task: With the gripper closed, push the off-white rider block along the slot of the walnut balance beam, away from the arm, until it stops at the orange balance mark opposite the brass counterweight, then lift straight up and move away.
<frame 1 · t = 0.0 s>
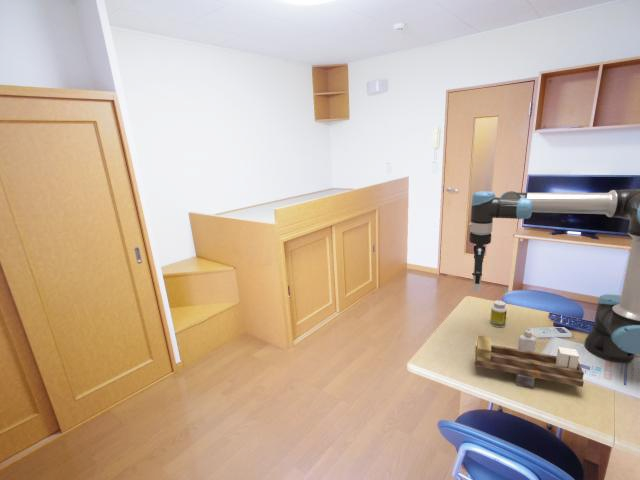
hand: (476, 283, 133), 28 cm above the table, fingers open, 13 cm apart
white rectangular bottle: (525, 355, 133), on the table
pill bottle: (497, 324, 155), on the table
beam: (522, 376, 121), on the table
rider: (567, 360, 113), point 10 cm above the table, slide at 0.0 cm
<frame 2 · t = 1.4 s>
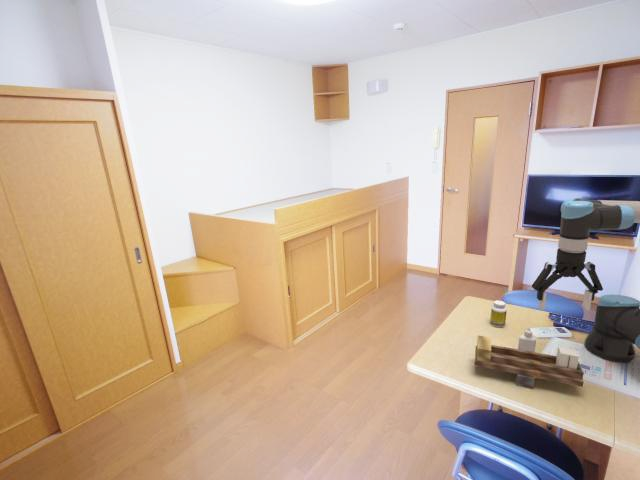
hand: (563, 308, 113), 27 cm above the table, fingers open, 13 cm apart
nothing on the table moved.
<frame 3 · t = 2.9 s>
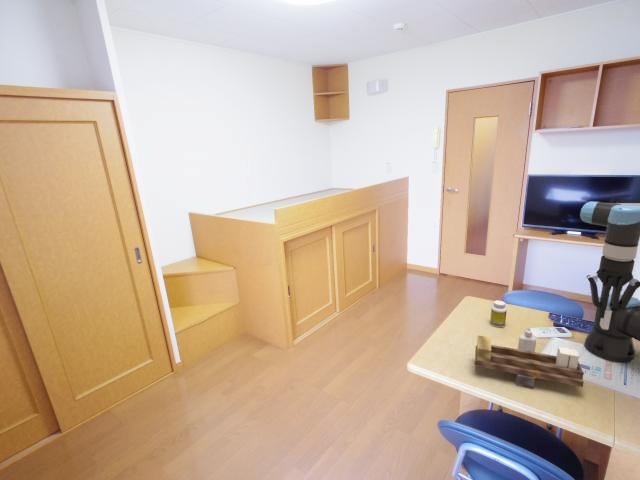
hand: (603, 327, 106), 24 cm above the table, fingers closed
nothing on the table moved.
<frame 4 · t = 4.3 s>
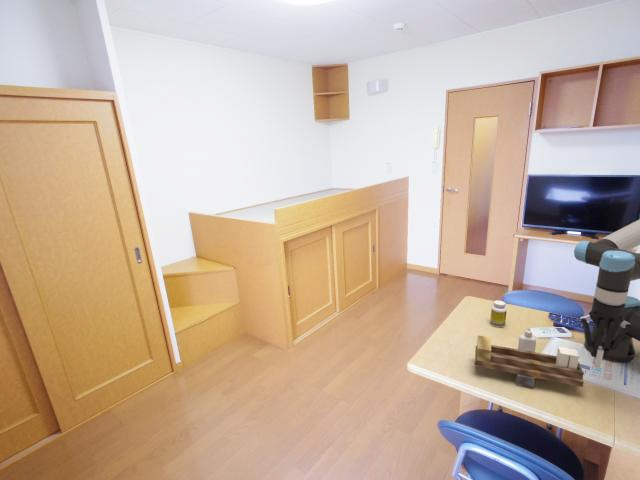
hand: (596, 365, 110), 10 cm above the table, fingers closed
nothing on the table moved.
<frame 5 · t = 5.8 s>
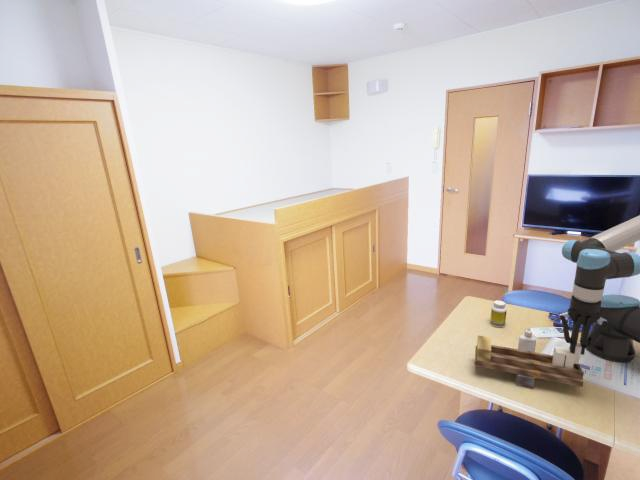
hand: (574, 361, 112), 10 cm above the table, fingers closed
rider: (563, 359, 114), point 10 cm above the table, slide at 1.1 cm, touching gripper
everything else where it was.
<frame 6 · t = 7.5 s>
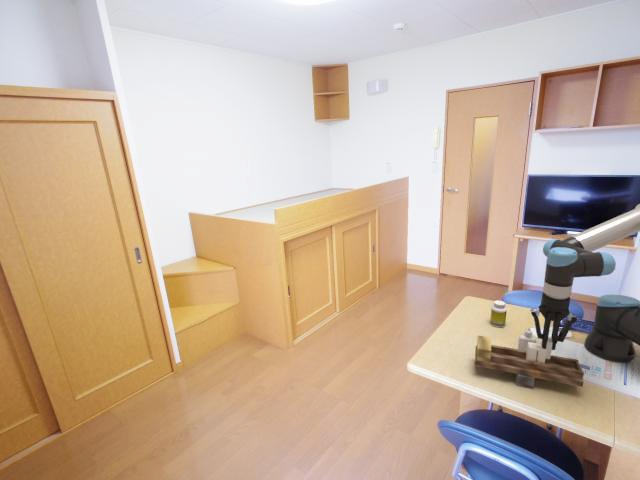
hand: (546, 356, 116), 10 cm above the table, fingers closed
rider: (535, 355, 117), point 10 cm above the table, slide at 9.0 cm, touching gripper
everything else where it was.
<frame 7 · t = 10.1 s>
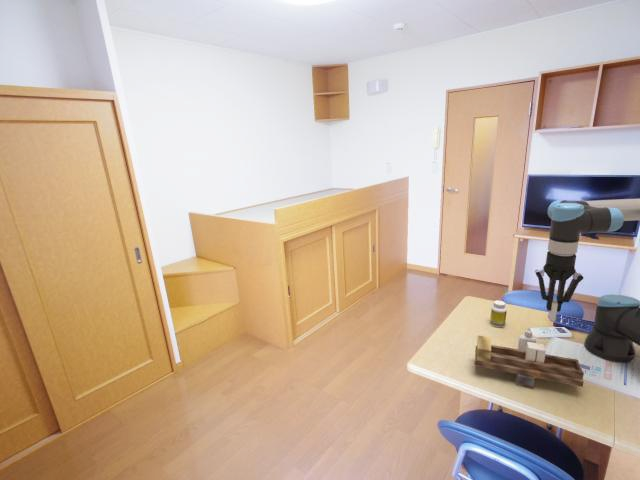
hand: (551, 319, 112), 24 cm above the table, fingers closed
rider: (535, 354, 117), point 10 cm above the table, slide at 9.2 cm
everything else where it was.
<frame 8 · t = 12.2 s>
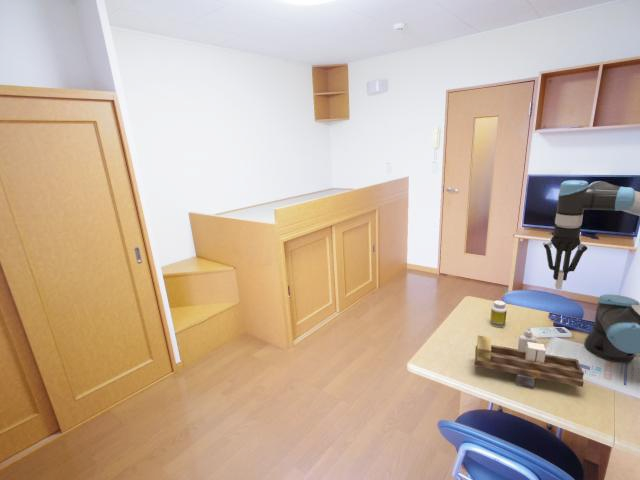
hand: (558, 287, 123), 29 cm above the table, fingers closed
nothing on the table moved.
at the end: rider slide at 9.2 cm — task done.
